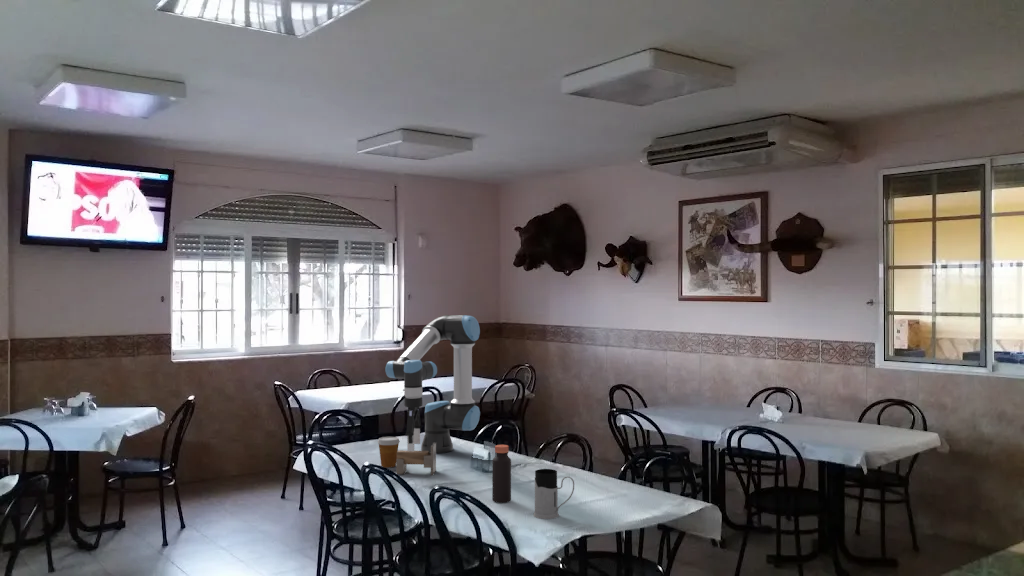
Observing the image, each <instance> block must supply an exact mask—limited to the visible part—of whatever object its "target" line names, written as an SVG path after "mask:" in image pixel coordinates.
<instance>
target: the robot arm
mask: <svg viewBox="0 0 1024 576" xmlns="http://www.w3.org/2000/svg"><path fill="white" fill-rule="evenodd" d="M421 330H422V331H421V334H420V335H419V336H418V337H417V338H416V339H415V340H414V341H413V342H412V343H411V344H410V345H409V346H408V348H407V349H406V350H404V352H403V353H402V354H401V355H400V356H399V357H398V358H397V360H389V361H388V362H386V365H385V371H384V372H385V374H386V376H387V377H388V378H390V379H394V380H395V379H401V380H403V381H404V383H403V384H404V386H403V387H404V388H403V389H402V391H403V392H404V400H403V401H404V402H403V403H404V407H405V408H409V409H408V410H407V418H406V419H407V421H406V423H407V424H406V432H405V437H406V436H407V437H406V438H407V442H406V443H407V444H406V445H407V451H415V445H420V444H421V447H420V448H421V449H420V451H429V452H431V445H432V444H433V443H436V454H442V453H448V452H452V451H454V446H453V445H454V444H453V441H452V438H451V435H450V430H456V431H457V430H458V431H463V432H465V431H469V432H470V431H473V430H475V428H476V427H477V425H478V424H479V421H480V416H481V411H480V407H479V406H477V405H476V400H474V398H473V357H472V356H473V353H472V352H473V347H474V346H475V345H476V341H477V340H479V338H480V334H481V329H480V324H479V321H478V320H477V318H476V317H474V316H472V315H466V314H463V315H451V314H450V315H449V314H445V315H441V316H438V317H436V318H435V319H433V320H431V321H430V322H429V323H427V324H426V326H424V327H423V328H422V329H421ZM443 340H444V341H445V340H446V341H450V345H451V346H452V347H453V399H451V400H450V401H449V400H440V401H439V400H438V401H433V402H428V403H426V405H425V406H424V407H425V408H424V436H423V440H422V442H421V429H422V423H421V415H420V407H422V406H423V381H427V380H430V379H432V378H435V377H436V375H437V374H438V366H437V365H436V363H435V362H433V361H422V360H421V359H422V358H423V357H424V356H425V355H426V354H427V353H428V352H429V350H430V349H431V348H432V346H434V345H437V344H438V343H440V341H443Z"/></svg>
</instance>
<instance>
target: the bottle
mask: <svg viewBox="0 0 1024 576" xmlns="http://www.w3.org/2000/svg"><path fill="white" fill-rule="evenodd" d="M494 452H495V456H494V458H492V465H491V466H492V481H491V482H492V492H491V493H492V497H491V498H492V501H493V502H494V503H496V504H505V503H510V501H511V500H512V459H511V458H510V457H509V455H508V454H509V445H508V444H497V445H495V446H494Z"/></svg>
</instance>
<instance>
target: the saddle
mask: <svg viewBox="0 0 1024 576" xmlns="http://www.w3.org/2000/svg"><path fill="white" fill-rule="evenodd" d="M407 465H408V464H404V459H396V466H395V467H396V471H395V473H397V474H400V476H401V475H404V474H406V472H407Z"/></svg>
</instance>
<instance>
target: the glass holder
mask: <svg viewBox="0 0 1024 576" xmlns="http://www.w3.org/2000/svg"><path fill="white" fill-rule="evenodd" d="M534 472H535V473H534V476H535V477H534V513H533V514H532V515H533V517H534V518H536V519H541V520H552V519H556V518H558V517H560V515H559V509H560V508H561V507H562V506H563V505H565V504H566V503H567V502H568V501H569V500H570V499H571V498H572V496H573V494H574V490H575V480H574V479H573V478H572V477H571V476H564V477H563V478H562V479H561V484H560V487H558V471H557V470H556V469H552V468H541V469H540V468H539V469H536V470H535V471H534ZM566 478H568V479H570V480H571V481H572V491H571V493H570V495H569V497H568V498H567V499H566V500H565V501H563V502H562V503H560V505H558V499H559V497H558V494H559V493H558V490H560V489H562V488H563V484H564V480H565V479H566Z"/></svg>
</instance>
